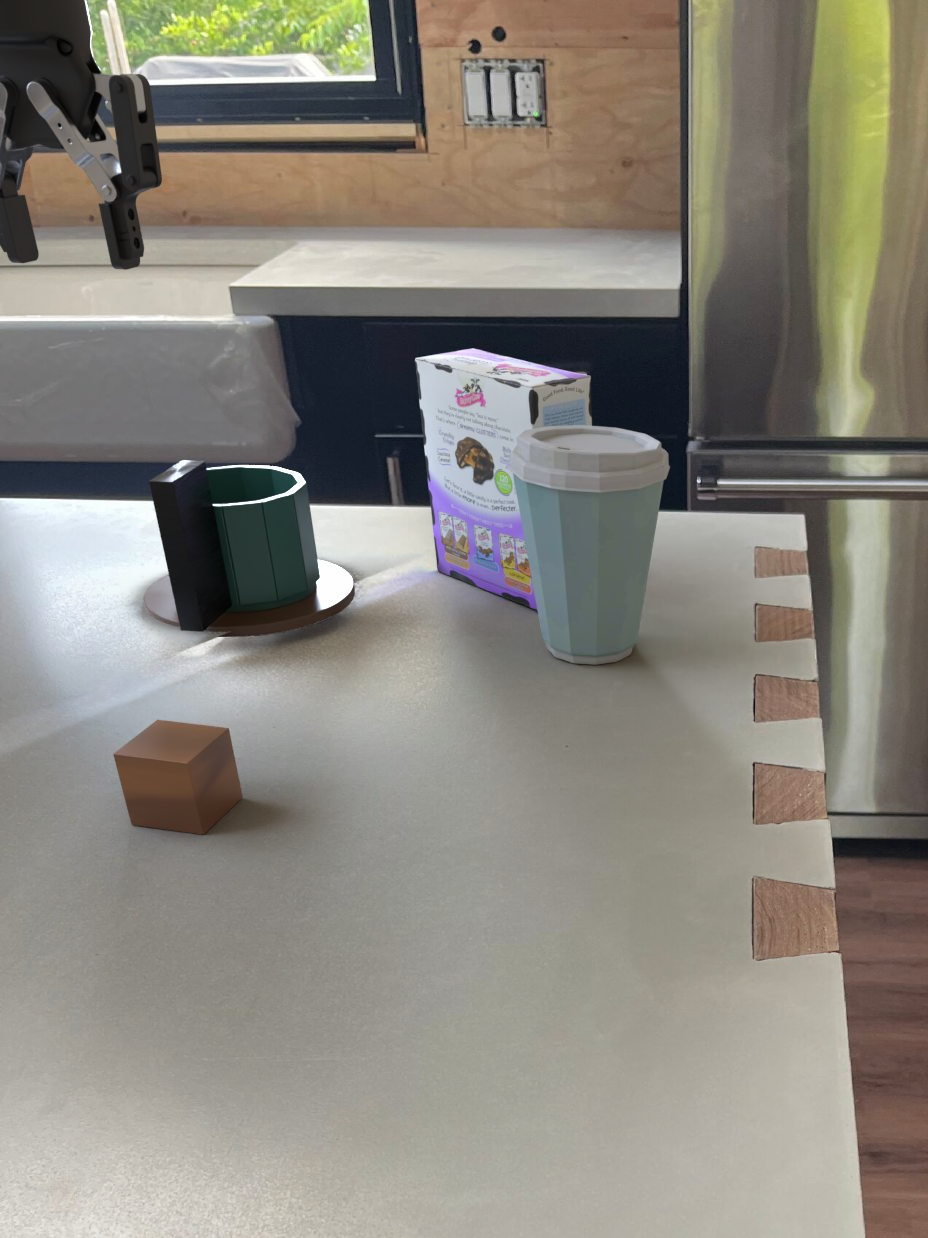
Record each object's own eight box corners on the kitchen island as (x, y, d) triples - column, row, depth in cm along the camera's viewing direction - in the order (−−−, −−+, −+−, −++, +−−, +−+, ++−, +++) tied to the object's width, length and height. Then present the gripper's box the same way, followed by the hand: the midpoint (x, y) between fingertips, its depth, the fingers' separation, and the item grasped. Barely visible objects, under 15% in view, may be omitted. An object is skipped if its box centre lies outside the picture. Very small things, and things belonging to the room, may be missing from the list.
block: (203, 835, 73) (187, 763, 70) (131, 825, 74) (112, 753, 71) (243, 797, 76) (229, 727, 74) (173, 788, 77) (157, 719, 75)
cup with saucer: (197, 560, 106) (167, 410, 100) (380, 570, 105) (362, 419, 98) (91, 644, 92) (47, 476, 85) (302, 657, 90) (274, 487, 84)
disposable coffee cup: (557, 612, 101) (548, 405, 92) (691, 633, 98) (694, 421, 90) (494, 665, 93) (477, 442, 84) (638, 688, 90) (636, 461, 81)
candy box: (600, 597, 104) (595, 373, 94) (542, 616, 100) (530, 385, 91) (490, 554, 112) (474, 343, 102) (432, 570, 108) (411, 353, 99)
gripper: (-155, -64, 74) (-63, 267, 83) (77, -61, 72) (145, 279, 81) (-63, -57, 80) (13, 251, 89) (154, -55, 78) (208, 262, 87)
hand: (75, 263), depth 85 cm, fingers open, 6 cm apart
